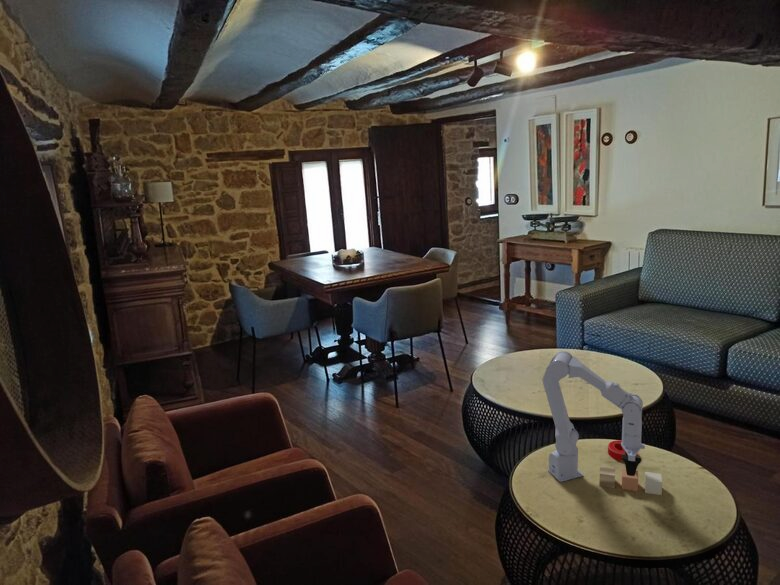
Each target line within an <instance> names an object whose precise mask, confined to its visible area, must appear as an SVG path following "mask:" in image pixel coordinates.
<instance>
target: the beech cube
mask: <svg viewBox="0 0 780 585" xmlns="http://www.w3.org/2000/svg"><path fill="white" fill-rule="evenodd" d="M598 481H599V482H598V484H599V485H598V486H600V487H605V486H607V487H606V488H611V487H615V486H616V467H612V466H605V465H599V480H598Z"/></svg>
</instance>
